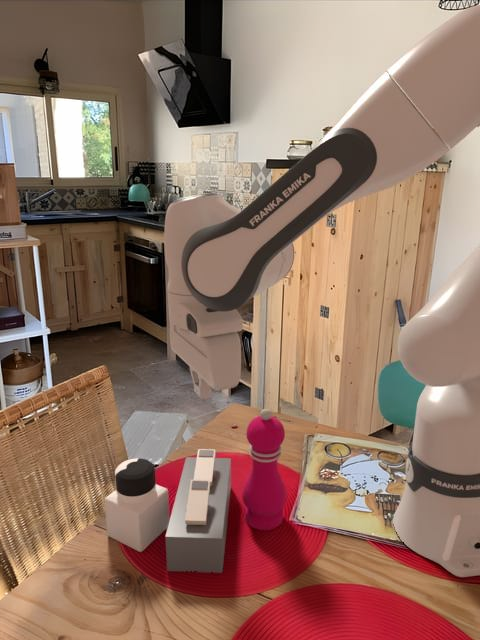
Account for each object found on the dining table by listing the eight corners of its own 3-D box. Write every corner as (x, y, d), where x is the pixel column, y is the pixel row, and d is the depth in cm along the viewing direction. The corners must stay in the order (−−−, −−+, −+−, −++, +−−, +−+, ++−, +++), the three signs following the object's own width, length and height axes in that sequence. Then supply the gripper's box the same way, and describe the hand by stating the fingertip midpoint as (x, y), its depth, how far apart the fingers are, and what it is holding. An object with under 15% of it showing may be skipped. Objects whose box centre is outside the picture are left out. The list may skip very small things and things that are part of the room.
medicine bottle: (170, 525, 81) (167, 461, 77) (141, 553, 75) (136, 485, 71) (137, 510, 84) (133, 448, 81) (106, 536, 79) (100, 470, 75)
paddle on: (210, 484, 78) (210, 479, 77) (206, 525, 72) (205, 520, 71) (191, 483, 78) (190, 479, 77) (185, 524, 72) (184, 519, 71)
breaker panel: (230, 487, 91) (230, 454, 89) (222, 572, 72) (222, 533, 69) (187, 485, 91) (186, 453, 89) (167, 571, 72) (165, 531, 70)
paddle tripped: (215, 453, 86) (215, 448, 86) (211, 485, 80) (211, 481, 80) (198, 453, 87) (198, 448, 86) (193, 485, 81) (193, 480, 80)
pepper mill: (283, 536, 79) (286, 423, 73) (238, 529, 80) (238, 418, 74) (288, 506, 85) (291, 401, 79) (246, 501, 87) (247, 397, 81)
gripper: (157, 296, 81) (163, 375, 84) (203, 329, 63) (208, 427, 67) (194, 291, 83) (197, 369, 87) (248, 322, 65) (250, 417, 69)
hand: (202, 395), depth 77 cm, fingers closed
